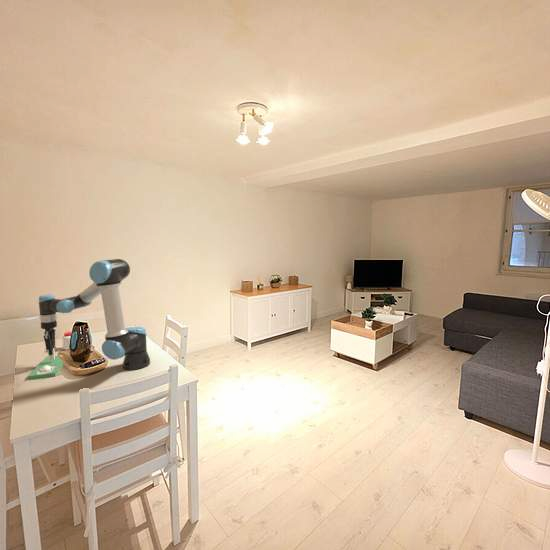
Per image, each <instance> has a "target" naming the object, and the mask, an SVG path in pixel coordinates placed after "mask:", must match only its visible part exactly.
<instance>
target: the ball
mask: <svg viewBox="0 0 550 550" xmlns="http://www.w3.org/2000/svg"><path fill="white" fill-rule="evenodd" d="M50 370H51V367H50V366H48V365H46V366H43V367H42V369H41V372H47V371H50Z"/></svg>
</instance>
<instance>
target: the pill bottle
mask: <svg viewBox="0 0 550 550" xmlns="http://www.w3.org/2000/svg"><path fill="white" fill-rule="evenodd" d="M71 332H72V331H66V332H64V333H63V335H62V337H61V338H62V339H61V340H62V350H63V349H68V348H69V342H70V336H71Z"/></svg>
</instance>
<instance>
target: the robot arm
mask: <svg viewBox="0 0 550 550" xmlns="http://www.w3.org/2000/svg"><path fill="white" fill-rule="evenodd" d="M130 273H131V267H130V265H129V263H128V262H127V261H126V260H124V259H120V258H114V259H105V260H104V259H102V260H99V261H95V262H94V263H92V265H91V266H90V267H89V278H90V280H92V282H93V283H92V284H90V285H89V286H88V287H86V288H85V289H84V290H82V291H81V292H80V293H79V294H77V295H74V296H71V297H66V298H65V297H64V298H62V299H61V298H60V299H59V298H57V299H56V296H55V295H54V294H42V295H39V296H38V308H39V316H38V318H39V319H40V328H41V330H45V331H44V335H43V338H44V343H45V350H46V351H47V354H48V355H47V357H49V360H54V359H55V356H56V355H55V354H56V353H55V349H56V329H55V328H57V326H58V323H57V313H61V314H68V313H69V314H70V313H72V311H74V310H76V309H80V308H85V307H87V306H90V305H91V304H92V302H93V300H95V299H96V298H98V297H99V296H100V295H101V300H102V301H101V302H102V306H103V311H104V319H105V324H106V325H105V326H106V331H107V332H106V334H105V335H104V338H105V341H103V343H102V345H101V350H102V353H103V355H104V356H105V357H107V358H108V359H110V360H114V361H115V360H118V359H121V358H123V361H122V368H123V369H125V370H128V371H133V370H134V371H135V370H142V369H144V368H146V367H148V366H150V364H151V358H150V356H149V353H148V350H147V330H146V328H145V327H143V326H129V327H126V326H125V321H124V315H123V314H124V313H123V308H122V303H121V295H120V289H119V286H120V285H122V284H121V283H122V281H123V280H125V279H126V278H128V277H129V275H130Z"/></svg>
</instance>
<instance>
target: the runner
mask: <svg viewBox="0 0 550 550" xmlns="http://www.w3.org/2000/svg"><path fill="white" fill-rule="evenodd" d="M59 355H60V354H58V355H55V359H54V360H49V357H48V356H46V357H45V358H44V359H43V360H42V361H41V362H40V363H39V365H37V367H36V368H34V370H33V371H32V372H30V373H29V375H28V380H29V381H31V380H38V379H43V378H45V379H47V378H52V377H54V378H55V377H56V376H57V374H59V372H60V371H61V369H62V368H63V367H64V365H63V362H62V360H61V359H60V357H59ZM46 365H48V366H50V367H51V370H50V371H47V372H41V369H42V367H43V366H46ZM62 366H63V367H62Z"/></svg>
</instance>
